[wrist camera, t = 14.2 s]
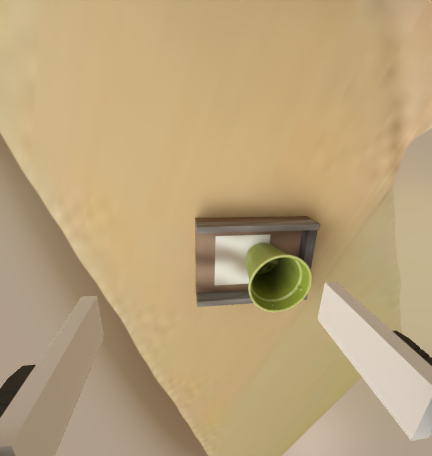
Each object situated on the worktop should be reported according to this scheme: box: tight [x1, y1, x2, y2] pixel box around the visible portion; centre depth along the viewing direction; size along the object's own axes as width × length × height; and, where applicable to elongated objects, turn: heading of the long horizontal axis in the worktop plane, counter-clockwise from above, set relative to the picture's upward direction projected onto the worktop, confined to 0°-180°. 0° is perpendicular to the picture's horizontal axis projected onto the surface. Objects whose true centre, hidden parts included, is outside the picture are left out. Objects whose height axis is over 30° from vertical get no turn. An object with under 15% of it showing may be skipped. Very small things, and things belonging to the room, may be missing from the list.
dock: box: [195, 216, 320, 307], centre depth 41 cm, size 14×20×4 cm
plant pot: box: [245, 243, 312, 312], centre depth 37 cm, size 9×9×9 cm
